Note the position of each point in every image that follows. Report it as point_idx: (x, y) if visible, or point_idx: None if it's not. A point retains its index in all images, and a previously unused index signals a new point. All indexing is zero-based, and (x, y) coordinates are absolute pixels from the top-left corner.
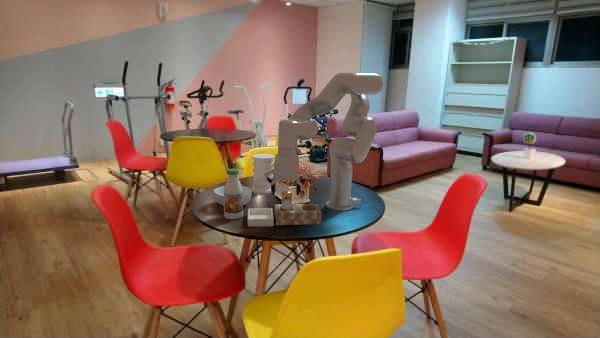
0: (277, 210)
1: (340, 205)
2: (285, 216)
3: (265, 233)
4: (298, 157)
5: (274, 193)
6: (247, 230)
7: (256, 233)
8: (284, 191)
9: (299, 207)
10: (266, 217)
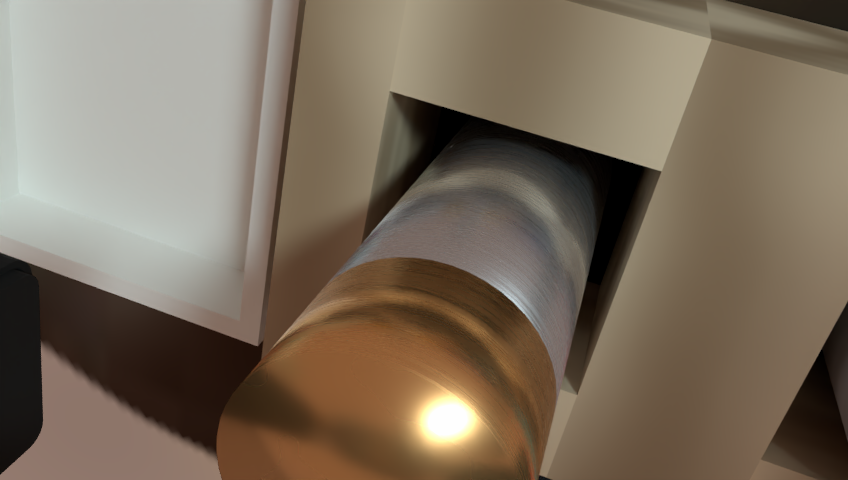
0: (300, 279)
1: None
2: None
3: (193, 420)
4: None
5: (15, 457)
6: None
7: (110, 383)
8: (299, 427)
9: (777, 300)
10: (233, 48)
